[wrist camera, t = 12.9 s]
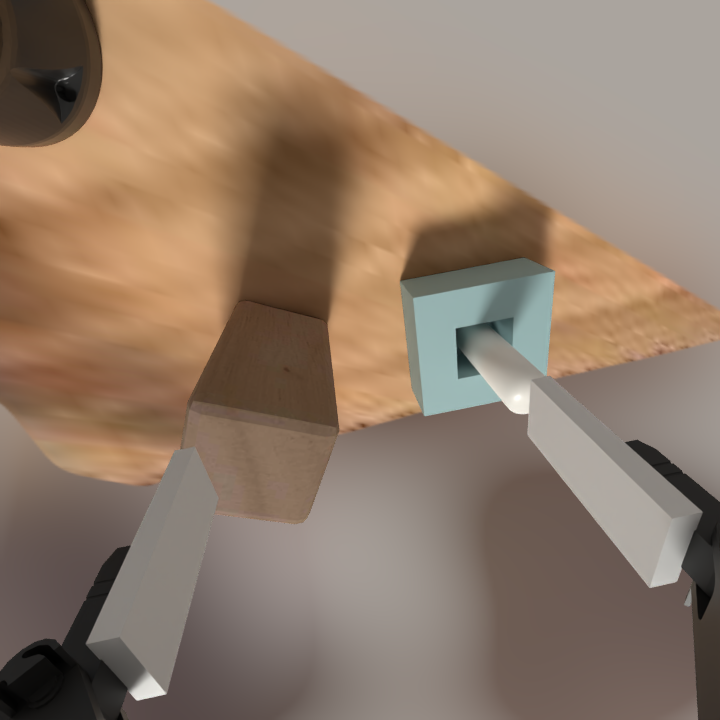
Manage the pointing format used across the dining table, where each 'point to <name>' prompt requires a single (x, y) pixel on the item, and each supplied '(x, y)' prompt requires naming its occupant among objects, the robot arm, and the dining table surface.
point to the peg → (499, 365)
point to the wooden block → (265, 414)
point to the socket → (470, 307)
